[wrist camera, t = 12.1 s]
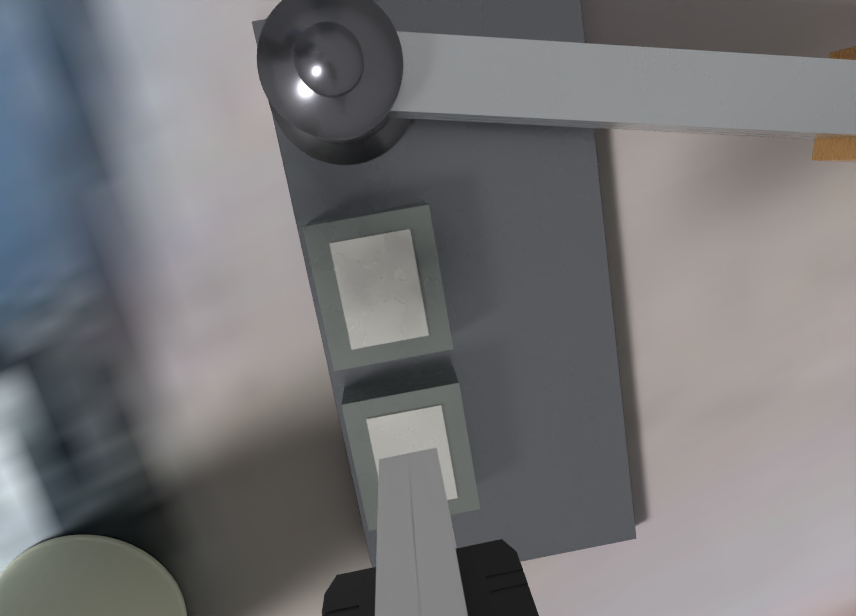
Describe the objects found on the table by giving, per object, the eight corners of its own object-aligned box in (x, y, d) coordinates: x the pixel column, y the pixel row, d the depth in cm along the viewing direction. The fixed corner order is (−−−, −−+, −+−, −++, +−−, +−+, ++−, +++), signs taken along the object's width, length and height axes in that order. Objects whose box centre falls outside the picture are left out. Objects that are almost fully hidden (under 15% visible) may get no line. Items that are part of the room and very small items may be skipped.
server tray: (255, 26, 25) (239, 7, 22) (570, -27, 25) (594, -51, 22) (377, 579, 31) (376, 620, 28) (630, 529, 31) (654, 565, 29)
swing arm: (286, 141, 25) (252, 133, 18) (285, 23, 24) (249, -30, 17) (808, 166, 26) (944, 167, 20) (827, 57, 26) (977, 20, 19)
